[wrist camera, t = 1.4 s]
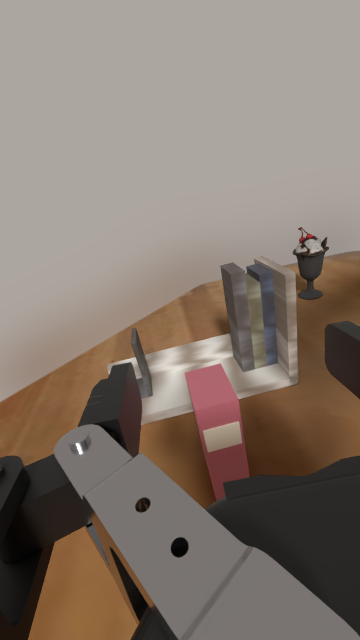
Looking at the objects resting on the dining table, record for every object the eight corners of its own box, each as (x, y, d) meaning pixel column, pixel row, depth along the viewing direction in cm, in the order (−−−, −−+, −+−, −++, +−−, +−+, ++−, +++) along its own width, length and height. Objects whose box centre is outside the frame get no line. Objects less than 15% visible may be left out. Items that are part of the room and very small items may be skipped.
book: (235, 450, 31) (220, 363, 26) (252, 495, 27) (239, 400, 21) (205, 458, 31) (184, 372, 26) (217, 505, 26) (194, 411, 21)
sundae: (287, 297, 63) (285, 229, 57) (305, 287, 66) (305, 221, 60) (314, 303, 58) (315, 229, 51) (333, 292, 61) (336, 220, 54)
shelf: (269, 349, 47) (262, 252, 40) (298, 383, 39) (295, 268, 31) (117, 389, 46) (81, 296, 39) (113, 432, 37) (66, 324, 30)
